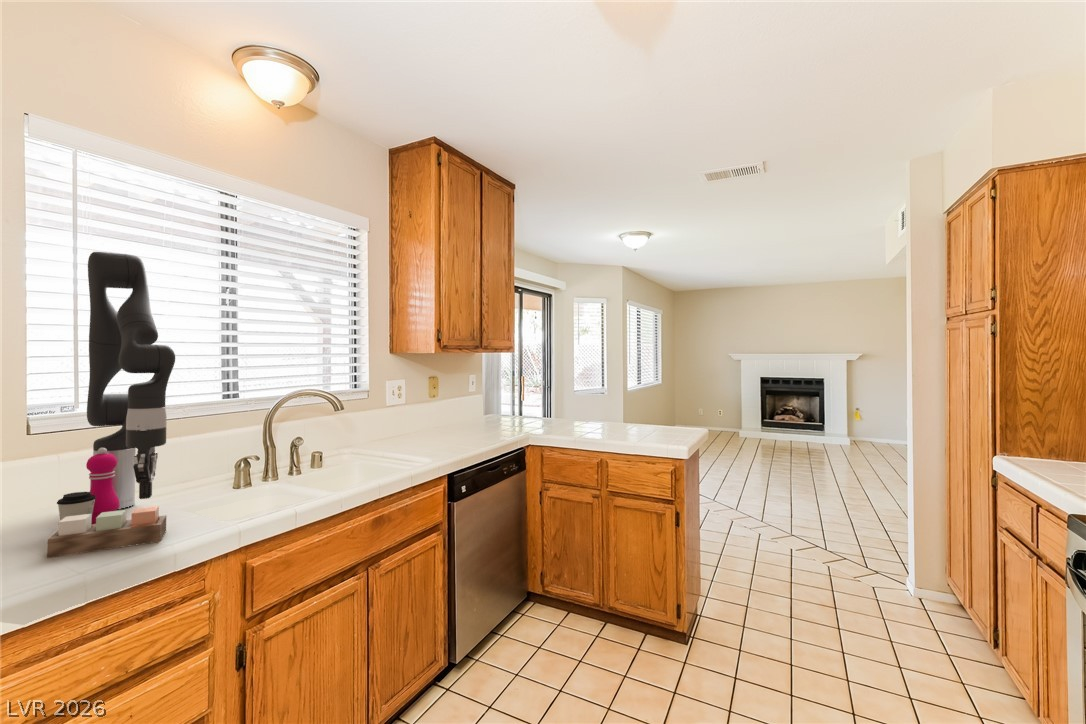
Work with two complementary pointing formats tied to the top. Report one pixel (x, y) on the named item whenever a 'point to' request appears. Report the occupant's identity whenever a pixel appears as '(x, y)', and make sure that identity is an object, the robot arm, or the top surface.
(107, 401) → the robot arm
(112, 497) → the pepper mill
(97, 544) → the wooden tray
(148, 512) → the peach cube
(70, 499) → the coffee cup
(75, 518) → the ivory key
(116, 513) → the sage key
